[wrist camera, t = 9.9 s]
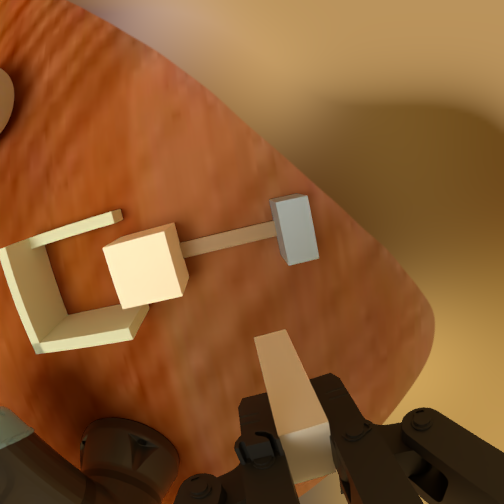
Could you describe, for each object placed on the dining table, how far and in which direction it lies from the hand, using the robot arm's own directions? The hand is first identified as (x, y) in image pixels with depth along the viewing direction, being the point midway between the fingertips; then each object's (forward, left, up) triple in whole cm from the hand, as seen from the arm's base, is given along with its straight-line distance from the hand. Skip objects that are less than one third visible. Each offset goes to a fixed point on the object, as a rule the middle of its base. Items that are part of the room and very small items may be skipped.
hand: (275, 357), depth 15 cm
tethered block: (-3, +2, -20) cm, 21 cm away
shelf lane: (-18, +3, -20) cm, 27 cm away
